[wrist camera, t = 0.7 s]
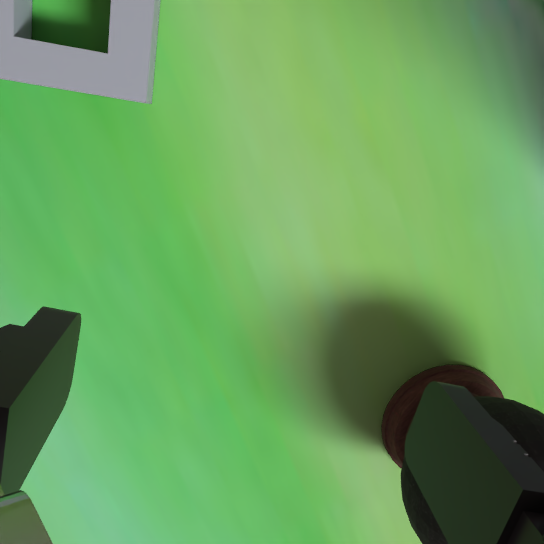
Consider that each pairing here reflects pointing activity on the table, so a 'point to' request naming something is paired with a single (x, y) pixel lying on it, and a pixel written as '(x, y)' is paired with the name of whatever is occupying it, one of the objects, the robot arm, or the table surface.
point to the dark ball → (512, 415)
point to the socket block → (84, 53)
